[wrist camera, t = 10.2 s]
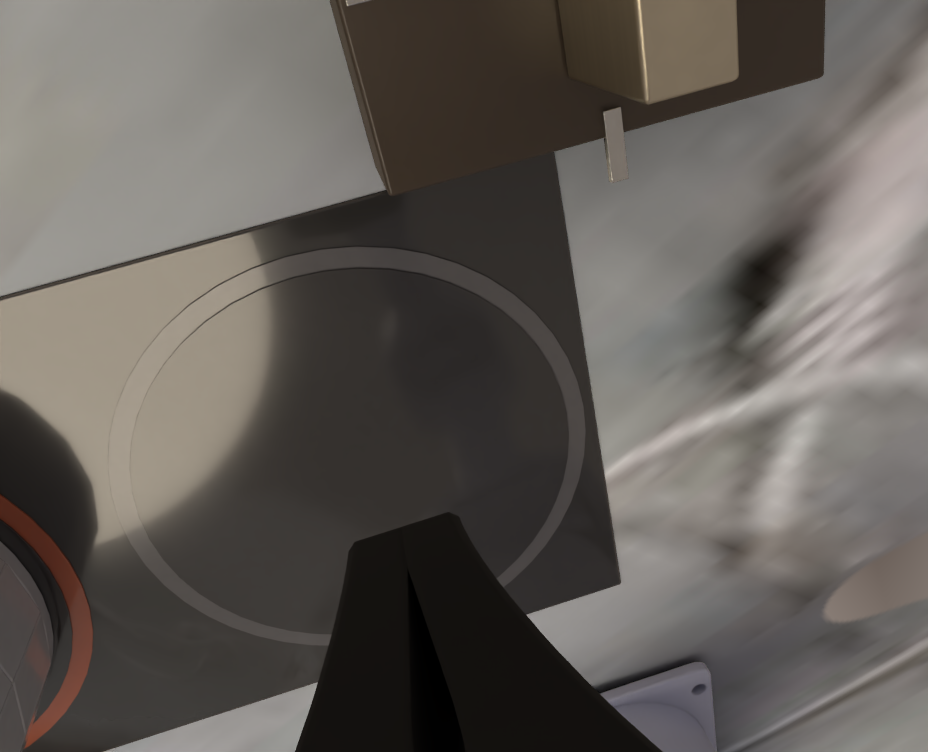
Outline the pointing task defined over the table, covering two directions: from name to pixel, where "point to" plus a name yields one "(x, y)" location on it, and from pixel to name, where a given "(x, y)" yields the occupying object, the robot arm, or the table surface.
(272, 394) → the hob
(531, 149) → the dial box
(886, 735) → the table surface
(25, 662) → the pot
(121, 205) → the table surface
